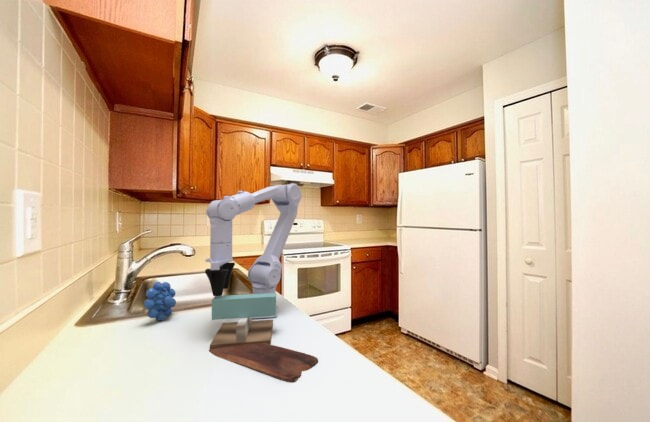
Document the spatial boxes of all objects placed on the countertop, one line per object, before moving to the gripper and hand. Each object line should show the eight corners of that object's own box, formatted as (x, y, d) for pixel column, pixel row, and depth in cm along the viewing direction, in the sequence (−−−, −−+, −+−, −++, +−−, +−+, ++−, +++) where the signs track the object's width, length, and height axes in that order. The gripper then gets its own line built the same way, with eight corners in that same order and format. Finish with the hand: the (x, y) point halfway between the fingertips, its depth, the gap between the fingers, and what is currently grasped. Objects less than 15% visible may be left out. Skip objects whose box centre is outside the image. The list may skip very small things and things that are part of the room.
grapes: (158, 329, 75) (158, 286, 76) (137, 327, 77) (137, 285, 77) (186, 314, 87) (186, 277, 87) (168, 313, 88) (168, 276, 88)
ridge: (222, 326, 77) (222, 308, 77) (272, 323, 79) (272, 305, 79) (209, 349, 63) (209, 327, 63) (270, 344, 65) (270, 323, 65)
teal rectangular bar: (276, 311, 74) (276, 292, 74) (275, 315, 71) (275, 296, 71) (215, 315, 72) (215, 296, 72) (211, 320, 68) (211, 300, 68)
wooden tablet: (200, 347, 63) (234, 326, 71) (201, 356, 63) (235, 334, 71) (292, 381, 49) (320, 351, 58) (293, 392, 49) (321, 361, 58)
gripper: (212, 240, 82) (212, 286, 81) (198, 245, 67) (197, 300, 67) (237, 240, 83) (236, 285, 82) (227, 244, 68) (227, 298, 68)
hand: (220, 291), depth 75 cm, fingers open, 7 cm apart
